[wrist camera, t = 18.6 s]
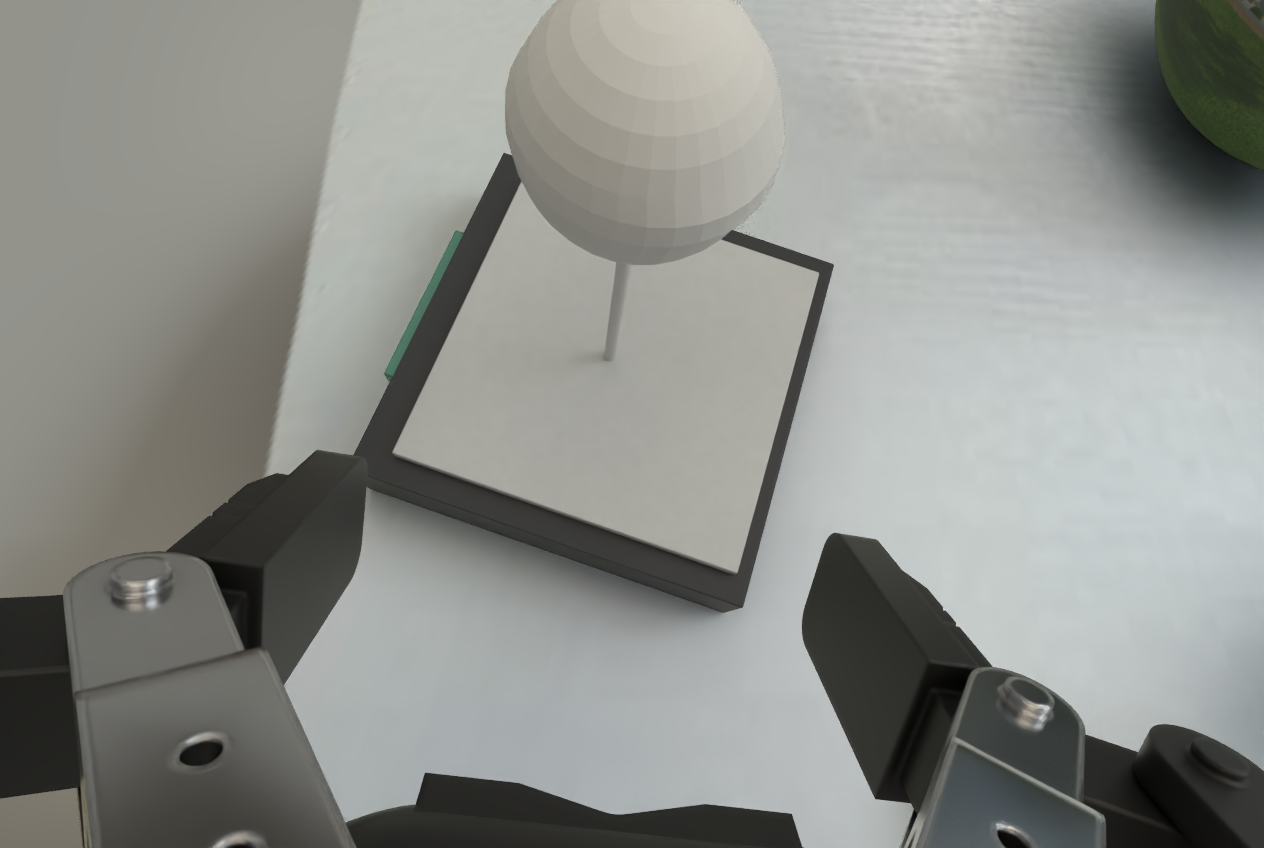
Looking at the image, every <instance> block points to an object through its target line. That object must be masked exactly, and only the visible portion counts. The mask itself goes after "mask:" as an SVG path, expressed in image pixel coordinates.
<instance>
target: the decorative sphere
mask: <svg viewBox="0 0 1264 848" xmlns="http://www.w3.org/2000/svg"><path fill="white" fill-rule="evenodd" d="M1155 38H1156V48H1157V54H1158V59H1159V63H1160V67H1161V71H1162V74H1163V77H1164V79H1165V82H1166V85H1167V87H1168V89H1169V91H1170V93H1171V95H1172V97H1173V99H1174V101H1175V102H1176V104H1177V106H1178V107H1179V109H1180V110H1181V112H1182V113H1183V114H1184V116H1185V117H1186V118H1187V119H1188V121H1189V122H1190V123H1191V124H1192V125H1193V126H1194V127H1195V128H1196V129H1197V130H1198V131H1199V132H1200V133H1201V134H1202V135H1203V136H1204V137H1205V138H1207V139H1208V140H1209V141H1210V142H1212V143H1213V144H1214V145H1216V146H1217V147H1218V148H1220V149H1221V150H1223V151H1224V152H1226V153H1228V154H1229V155H1231V156H1233V157H1235V158H1237V159H1238V160H1240V161H1243V162H1245V163H1247V164H1249V165H1251V166H1254V167H1256V168H1259V169H1261V170H1264V0H1156V7H1155Z"/></svg>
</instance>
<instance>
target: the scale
mask: <svg viewBox="0 0 1264 848" xmlns="http://www.w3.org/2000/svg"><path fill="white" fill-rule="evenodd" d="M833 267H834V265H833V264H831V263H828V262H825V261H822V260H819V259H816V258H813V257H810V256H807V255H804V254H801V253H798V252H795V251H793V250H790V249H787V248H784V247H781V246H778V245H775V244H772V243H769V242H766V241H763V240H760V239H757V238H754V237H751V236H748V235H745V234H742V233H739V232H736V231H733V230H731V231H730V232H729V233H728V234H727V235H726V236H724V237H723V238H722V239H721V240H719V241H718V242H716V243H715V244H713V245H712V246H710V247H708V248H707V249H705V250H704V251H702V252H699V253H696V254H694V255H691V256H689V257H686V258H683V259H680V260H677V261H673V262H668V263H662V264H657V265H632V266H631V272H630V277H629V283H628V289H627V295H626V301H625V307H624V313H623V319H622V324H621V330H620V336H619V342H618V348H617V354H616V358H615V360H613V361H608V360H606V359H605V357H604V353H605V346H606V338H607V330H608V322H609V315H610V307H611V299H612V292H613V284H614V276H615V269H616V262H613V261H610V260H607V259H604V258H601V257H598V256H595V255H593V254H591V253H589V252H587V251H586V250H584V249H582V248H580V247H579V246H577V245H575V244H574V243H572V242H571V241H569V240H568V239H567V238H565V237H564V236H563V235H562V234H560V233H559V232H558V231H557V230H556V229H554V228H553V227H552V226H551V225H550V224H549V223H548V221H547V220H546V219H545V218H544V217H543V215H542V214H541V213H540V212H539V210H538V209H537V208H536V206H535V205H534V203H533V201H532V200H531V198H530V197H529V195H528V193H527V191H526V189H525V187H524V185H523V183H522V181H521V179H520V177H519V175H518V172H517V169H516V166H515V163H514V160H513V156H512V155H509V154H506V153H504V154H503V156H502V158H501V160H500V162H499V164H498V166H497V168H496V170H495V172H494V174H493V176H492V178H491V180H490V182H489V184H488V186H487V188H486V190H485V192H484V194H483V196H482V198H481V200H480V202H479V204H478V206H477V208H476V210H475V212H474V214H473V216H472V218H471V220H470V222H469V224H468V226H467V228H466V230H465V232H464V233H462V232H459V231H456V232H455V233H454V235H453V237H452V239H451V241H450V243H449V245H448V247H447V249H446V251H445V253H444V255H443V257H442V259H441V261H440V263H439V265H438V267H437V269H436V271H435V273H434V275H433V277H432V279H431V281H430V283H429V285H428V287H427V289H426V291H425V293H424V295H423V297H422V299H421V301H420V303H419V305H418V307H417V309H416V311H415V313H414V315H413V317H412V319H411V321H410V323H409V325H408V327H407V329H406V331H405V333H404V335H403V337H402V339H401V341H400V343H399V345H398V347H397V349H396V351H395V353H394V355H393V357H392V359H391V361H390V363H389V365H388V367H387V369H386V371H385V373H384V374H385V376H386V377H387V379H388V381H389V382H390V383H389V385H388V387H387V389H386V391H385V393H384V395H383V397H382V399H381V401H380V403H379V405H378V407H377V409H376V411H375V413H374V415H373V417H372V419H371V421H370V423H369V425H368V427H367V429H366V431H365V433H364V435H363V437H362V439H361V441H360V443H359V445H358V447H357V449H356V451H355V453H354V455H353V456H359V457H364V458H365V459H366V461H367V485H366V486H367V487H368V488H369V489H372V490H375V491H378V492H381V493H383V494H386V495H389V496H392V497H395V498H398V499H401V500H403V501H406V502H409V503H412V504H415V505H418V506H421V507H423V508H426V509H429V510H432V511H435V512H438V513H441V514H443V515H446V516H449V517H452V518H455V519H458V520H461V521H463V522H466V523H469V524H472V525H475V526H478V527H481V528H483V529H486V530H489V531H492V532H495V533H498V534H501V535H503V536H506V537H509V538H512V539H515V540H518V541H520V542H523V543H526V544H529V545H532V546H535V547H538V548H540V549H543V550H546V551H549V552H552V553H555V554H558V555H560V556H563V557H566V558H569V559H572V560H575V561H578V562H580V563H583V564H586V565H589V566H592V567H595V568H598V569H600V570H603V571H606V572H609V573H612V574H615V575H618V576H620V577H623V578H626V579H629V580H632V581H635V582H638V583H640V584H643V585H646V586H649V587H652V588H655V589H658V590H660V591H663V592H666V593H669V594H672V595H675V596H678V597H680V598H683V599H686V600H689V601H692V602H695V603H698V604H700V605H703V606H706V607H709V608H712V609H715V610H717V611H720V612H723V613H725V612H728V611H732V610H735V609H739V608H742V607H743V605H744V601H745V597H746V594H747V590H748V586H749V582H750V579H751V575H752V571H753V567H754V563H755V560H756V556H757V552H758V548H759V545H760V541H761V537H762V533H763V530H764V526H765V522H766V518H767V515H768V511H769V507H770V503H771V500H772V496H773V492H774V488H775V485H776V481H777V477H778V473H779V470H780V466H781V462H782V458H783V454H784V451H785V447H786V443H787V439H788V436H789V432H790V428H791V424H792V421H793V417H794V413H795V409H796V406H797V402H798V398H799V394H800V391H801V387H802V383H803V379H804V376H805V372H806V368H807V364H808V361H809V357H810V353H811V349H812V345H813V342H814V338H815V334H816V330H817V327H818V323H819V319H820V315H821V312H822V308H823V304H824V300H825V297H826V293H827V289H828V285H829V282H830V278H831V274H832V270H833Z"/></svg>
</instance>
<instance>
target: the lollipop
mask: <svg viewBox="0 0 1264 848" xmlns="http://www.w3.org/2000/svg"><path fill="white" fill-rule="evenodd" d="M505 119H506V135H507V139H508V142H509V146H510V149H511V153H512V156H513V160H514V163H515V166H516V169H517V172H518V175H519V177H520V179H521V181H522V183H523V185H524V187H525V189H526V191H527V193H528V195H529V197H530V198H531V200H532V201H533V203H534V205H535V206H536V208H537V209H538V210H539V212H540V213H541V214H542V215H543V217H544V218H545V219H546V220H547V221H548V223H549V224H550V225H551V226H552V227H553V228H554V229H556V230H557V231H558V232H559V233H560V234H562V235H563V236H564V237H565V238H567V239H568V240H569V241H571V242H572V243H574V244H575V245H577V246H579V247H580V248H582V249H584V250H586V251H587V252H589V253H591V254H593V255H595V256H598V257H601V258H604V259H607V260H610V261H613V262H616V269H615V276H614V284H613V292H612V299H611V307H610V315H609V322H608V330H607V338H606V346H605V353H604V357H605V359H606V360H608V361H613V360H615V358H616V354H617V348H618V342H619V336H620V330H621V324H622V319H623V313H624V307H625V301H626V295H627V289H628V283H629V277H630V272H631V266H632V265H657V264H662V263H668V262H673V261H677V260H680V259H683V258H686V257H689V256H691V255H694V254H696V253H699V252H702V251H704V250H705V249H707V248H708V247H710V246H712V245H713V244H715V243H716V242H718V241H719V240H721V239H722V238H723V237H724V236H726V235H727V234H728V233H729V232H730V231H731V230H733V229H734V228H736V227H737V226H738V225H740V224H741V223H743V222H744V221H745V220H746V219H747V218H748V217H749V216H750V215H751V214H752V213H753V212H754V211H755V210H756V209H757V208H758V207H759V206H760V205H761V204H762V202H763V201H764V199H765V197H766V196H767V194H768V192H769V191H770V189H771V188H772V186H773V183H774V180H775V176H776V173H777V170H778V166H779V163H780V159H781V156H782V152H783V148H784V141H785V119H784V112H783V106H782V99H781V93H780V87H779V81H778V77H777V73H776V70H775V66H774V63H773V59H772V57H771V54H770V52H769V50H768V47H767V45H766V42H765V41H764V39H763V38H762V36H761V35H760V33H759V32H758V30H757V29H756V27H755V26H754V24H753V23H752V21H751V20H750V18H749V17H748V15H747V14H746V12H745V11H744V10H743V9H742V8H741V7H740V6H739V5H738V4H737V3H736V2H735V1H734V0H558V1H556V2H555V3H554V4H553V5H552V6H551V7H550V9H549V10H548V11H547V12H546V13H545V14H544V15H543V16H542V18H541V19H540V21H539V22H538V24H537V25H536V27H535V28H534V30H533V31H532V33H531V34H530V36H529V37H528V39H527V40H526V42H525V43H524V45H523V46H522V47H521V49H520V51H519V53H518V55H517V57H516V59H515V61H514V63H513V65H512V67H511V69H510V73H509V78H508V82H507V87H506V99H505Z"/></svg>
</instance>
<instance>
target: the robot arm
mask: <svg viewBox="0 0 1264 848" xmlns="http://www.w3.org/2000/svg"><path fill="white" fill-rule="evenodd" d="M366 485H367V461H366V459H365V458H364V457H359V456H353V455H346V454H340V453H334V452H327V451H321V450H317V451H315V452H314V453H313V454H312V455H310V456H309V457H308V458H307V459H306V460H305V461H304V462H303V463H302V464H300V465H299V466H298V467H297V468H296V469H295V470H294V471H293V472H292V473H291V474H289V475H285V474H278V473H276V474H273V475H271V476H268V477H265V478H263V479H260V480H257V481H255V482H252V483H249V484H247V485H246V486H245V487H243V488H242V489H241V490H240V491H238V492H237V493H236V494H235V495H234V496H233V497H231V498H230V499H229V501H228V503H224V504H223V505H222V506H220V507H219V508H218V509H217V510H215V511H214V512H213V515H212V516H209V517H207V518H206V519H205V520H204V521H202V522H201V523H200V524H198V525H197V526H196V527H195V528H194V529H192V530H191V531H190V532H189V533H188V534H186V535H185V536H184V537H183V538H181V539H180V540H179V541H178V542H177V543H175V544H174V545H173V546H172V547H171V548H170V549H168V550H167V551H166V552H161V551H157V552H141V553H134V554H128V555H122V556H118V557H115V558H111V559H108V560H105V561H102V562H99V563H97V564H95V565H92V566H90V567H88V568H86V569H85V570H83V571H81V572H80V573H78V574H77V575H76V576H74V577H73V578H72V579H71V580H70V581H69V582H68V583H67V585H66V587H65V589H64V592H63V595H56V596H37V597H17V598H16V597H15V598H0V798H7V797H14V796H21V795H27V794H35V793H42V792H49V791H56V790H63V789H70V788H77V800H78V809H79V820H80V830H81V841H82V848H803V847H802V845H801V842H800V839H799V836H798V832H797V829H796V826H795V823H794V820H793V816H792V814H788V813H779V812H770V811H761V810H752V809H743V808H734V807H726V806H717V805H708V804H704V805H696V806H688V807H680V808H672V809H664V810H656V811H648V812H640V813H632V814H624V815H615V814H609V813H605V812H602V811H599V810H596V809H593V808H590V807H587V806H584V805H581V804H578V803H575V802H572V801H570V800H567V799H564V798H561V797H558V796H555V795H552V794H549V793H546V792H543V791H540V790H537V789H534V788H531V787H529V786H526V785H523V784H520V783H512V782H503V781H494V780H485V779H476V778H467V777H459V776H450V775H441V774H432V773H425V775H424V778H423V782H422V785H421V789H420V792H419V795H418V799H417V802H416V805H408V806H401V807H396V808H392V809H387V810H383V811H378V812H375V813H372V814H369V815H366V816H363V817H360V818H357V819H354V820H351V821H348V822H346V823H345V821H344V819H343V817H342V814H341V812H340V810H339V808H338V805H337V803H336V801H335V799H334V797H333V794H332V792H331V790H330V788H329V785H328V783H327V781H326V779H325V777H324V774H323V772H322V770H321V768H320V766H319V763H318V761H317V759H316V757H315V754H314V752H313V750H312V748H311V746H310V743H309V741H308V739H307V737H306V734H305V732H304V730H303V728H302V726H301V723H300V721H299V719H298V717H297V714H296V712H295V710H294V708H293V706H292V703H291V701H290V699H289V697H288V694H287V692H286V690H285V688H284V684H285V682H286V681H287V679H288V678H289V676H290V675H291V673H292V672H293V670H294V668H295V667H296V665H297V664H298V662H299V661H300V659H301V657H302V656H303V654H304V653H305V651H306V650H307V648H308V647H309V645H310V643H311V642H312V640H313V639H314V637H315V636H316V634H317V633H318V631H319V629H320V628H321V626H322V625H323V623H324V622H325V620H326V618H327V617H328V615H329V614H330V612H331V611H332V609H333V608H334V606H335V604H336V603H337V601H338V600H339V598H340V597H341V595H342V594H343V592H344V590H345V589H346V587H347V586H348V584H349V583H350V581H351V579H352V577H353V575H354V573H355V570H356V567H357V564H358V560H359V556H360V551H361V545H362V534H363V522H364V510H365V497H366ZM802 635H803V641H804V644H805V647H806V649H807V651H808V653H809V656H810V658H811V660H812V662H813V664H814V667H815V669H816V671H817V673H818V675H819V677H820V680H821V682H822V684H823V686H824V688H825V690H826V693H827V695H828V697H829V699H830V701H831V704H832V706H833V708H834V710H835V712H836V714H837V717H838V719H839V721H840V723H841V725H842V728H843V730H844V732H845V734H846V736H847V738H848V741H849V743H850V745H851V747H852V749H853V752H854V754H855V756H856V758H857V760H858V762H859V765H860V767H861V769H862V771H863V773H864V776H865V778H866V780H867V782H868V784H869V786H870V789H871V791H872V793H873V795H874V797H875V799H880V800H888V801H897V802H906V803H911V804H912V806H913V808H914V810H913V812H912V815H911V817H910V820H909V822H908V824H907V827H906V829H905V832H904V835H903V837H902V840H901V843H900V846H899V848H1264V771H1263V770H1262V769H1260V768H1259V767H1258V766H1257V765H1255V764H1254V763H1252V762H1251V761H1250V760H1248V759H1247V758H1245V757H1244V756H1242V755H1241V754H1239V753H1238V752H1236V751H1234V750H1233V749H1231V748H1229V747H1228V746H1226V745H1224V744H1222V743H1220V742H1218V741H1216V740H1214V739H1212V738H1210V737H1208V736H1206V735H1203V734H1201V733H1198V732H1196V731H1193V730H1190V729H1187V728H1183V727H1179V726H1175V725H1167V724H1162V725H1156V726H1154V727H1152V728H1151V729H1150V731H1149V733H1148V735H1147V737H1146V739H1145V741H1144V742H1143V744H1142V746H1141V748H1140V750H1139V752H1136V751H1133V750H1130V749H1127V748H1124V747H1121V746H1118V745H1115V744H1112V743H1109V742H1106V741H1103V740H1100V739H1097V738H1094V737H1091V736H1088V735H1085V726H1084V724H1083V721H1082V719H1081V718H1080V716H1079V715H1078V713H1077V712H1076V711H1075V710H1074V709H1073V708H1072V707H1071V706H1070V705H1069V704H1068V703H1067V702H1066V701H1065V700H1064V699H1062V698H1061V697H1060V696H1058V695H1057V694H1056V693H1054V692H1053V691H1051V690H1050V689H1048V688H1047V687H1045V686H1043V685H1042V684H1040V683H1038V682H1036V681H1034V680H1032V679H1030V678H1028V677H1026V676H1023V675H1021V674H1018V673H1015V672H1012V671H1009V670H1005V669H1001V668H995V667H992V665H991V664H990V663H989V662H988V661H987V659H986V658H985V657H984V656H983V655H982V653H981V652H980V651H979V650H978V649H977V647H976V646H975V645H974V644H973V643H972V641H971V640H970V639H969V638H968V637H967V635H966V634H965V633H964V632H963V631H962V630H961V628H960V627H956V622H955V621H954V620H953V619H952V618H951V616H950V615H949V614H948V613H947V612H946V611H943V607H942V606H941V604H940V603H939V602H938V601H937V600H936V598H935V597H934V596H933V595H932V594H931V592H930V591H929V590H928V589H927V588H926V587H924V586H923V585H922V584H920V583H919V582H918V581H916V580H915V579H913V578H912V577H911V576H909V575H908V574H907V573H905V572H904V571H902V570H901V568H900V567H899V566H898V565H897V563H896V562H895V561H894V560H893V559H892V557H891V556H890V555H889V554H888V552H887V551H886V550H885V549H884V547H883V546H882V545H881V544H880V542H878V541H877V540H876V539H870V538H864V537H858V536H851V535H845V534H839V533H833V534H831V535H830V536H829V537H828V539H827V540H826V543H825V545H824V548H823V551H822V554H821V557H820V560H819V563H818V567H817V570H816V573H815V576H814V579H813V582H812V586H811V589H810V592H809V595H808V598H807V602H806V605H805V608H804V612H803V619H802Z"/></svg>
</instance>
